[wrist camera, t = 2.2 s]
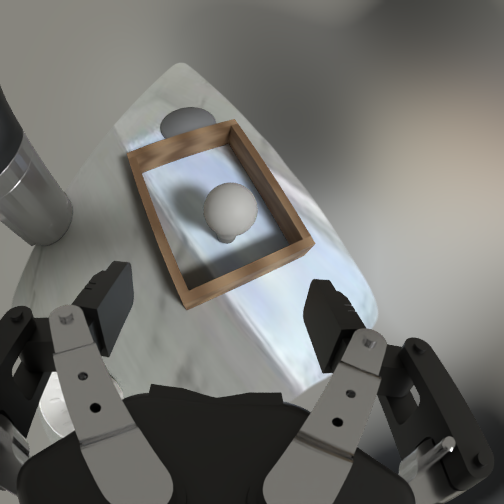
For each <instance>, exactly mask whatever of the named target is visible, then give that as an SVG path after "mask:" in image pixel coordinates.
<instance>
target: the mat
mask: <svg viewBox="0 0 504 504" xmlns="http://www.w3.org/2000/svg"><path fill="white" fill-rule="evenodd" d="M214 124H216V121H215V118H214V117H213V115H212V114H211V113H209V112H208V111H206V110H204V109H201V108H195V107H187V108H181V109H178V110H175V111H173V112H171V113H170V114H168V115H167V116H166V117H165V118H164V120H163V121H162V124H161V132H162V134H163V136H164V137H165V138H166V139H167V138H170V137H173V136H176V135H179V134H183V133H186V132H189V131H192V130H196V129H199V128H203V127H206V126H210V125H214Z"/></svg>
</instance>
